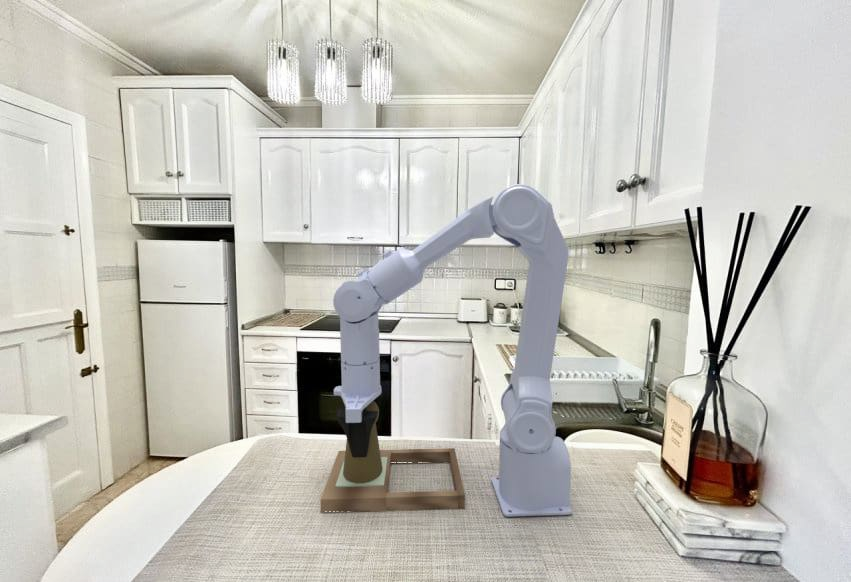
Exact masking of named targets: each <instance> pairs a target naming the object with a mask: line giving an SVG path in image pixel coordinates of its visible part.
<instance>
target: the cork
mask: <svg viewBox="0 0 851 582" xmlns="http://www.w3.org/2000/svg"><path fill="white" fill-rule="evenodd" d="M364 409H366V411H378V415H377V418H376V420H375V422H374V424H373V426H372V429H371V434H370V442H369V448H368V453H367V456H366V457H354V458H353V457H352V454H351V451H350V448H349V444H348V440H347V439H346V442H345V443H346V444H345V450H344V451H345V460H344V469H343V476H344V478H345V479H346V480H348V481H350V482H353V483H366V482H370V481H372V480H374V479H376V478H377V477H379V476H380V475H381V473H382V469H383V468H382V461H381V455H380V450H381V449H380V444H379V443H380V442H379V437H378V431H377V424H376V423H377V421H378V420H379V415H380V409H379V406H378V405H377V404H376V403H375V402H374V401H372V402H371V403H370V404H369V405H368V406H366V407H365V408H364Z"/></svg>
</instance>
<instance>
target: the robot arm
mask: <svg viewBox="0 0 851 582" xmlns="http://www.w3.org/2000/svg"><path fill="white" fill-rule="evenodd" d="M493 199H494V195H492V196H490V197H488V198H486V199H484V200H482V201H480V202H478V203H477V204H475V205H474V206H472V207H471V208H468V209H467V210H465V211H464V212H463V213H462V214H460V215H459V216H458V217H455V219H454V220H452V221H451V222H449V223H448V224H446V225H445V226H444V227H443V228H441V229H440V230H438V231H437V232H436V233H435V234H433V235H431V236H430V237H428V238H427V239H426V240H425V241H423V242H422V243H420V244H419V245H418V246H416V247H415V248H414V249H413V250H410V249H406V248H398V249H397V250H395V251H394V250H393V249H389V250H387V251H386V252H384V253H383V257H384V258H383V259H382V260H381V261H379V262H377V263H376V264H375V265H373V266H371V268H368V269H367V270H365V269H362V270H360V271H359V272H358V273H357V276H358V279H357V280H355V279H353V280H352V279H351V280H347V281H344V282H343V283H342V284H341V285H340V286H339V287H338V288H337V290H336V291H335V293H334V295H333V300H332V302H333V304H332V305H333V308H334V310H335V312H336V314H337V315H338V317H339V321H340V322H339V324H340V325H339V326H340V329H339V330H340V332H339V333H340V339H339V340H340V361H341V362H340V367H341V368H340V370H341V373H340V374H341V385H338V386H335V387H334V388H333V396H340V397H341V399H342V402H343V404H344V407H345V408H341V409H340V408H339V409H338V411H337V414H336V420H337V423H338V424H339V425H340V427H341V429H342V430H343V431H344V434H345V437H346V441H347V440H348V444H349V448H350V451H351V454H352V457H353V458H354V457H366V456H367V453H368V448H369V442H370V434H371V429H372V426H373V424H374V422H375V420H376V418H377V415H378V411H366V409H364V408H365V407H366V406H368V405H369V404H370V403H371V402H372V401H374V402H375V403H376V404H377V406H378V405H379V403H380V401H381V398H382V396H383V390H382V385H381V373H380V372H381V370H380V369H381V364H380V363H381V362H380V361H381V360H380V358H381V357H380V328H379V311H380V310H381V309H382V307H383V306H384V305H388V304H390V303H392V302H393V301H395V300H396V299H397V298H399V297H400V296H402V295H404V294H405V293H406V292H408V291H410V290H411V289H412V288H414V287H416V286H417V285H419V284H420V283H421V282H422V281H423V277H424V272H425V269H426V268H428V267H429V266H430V265H432V264H434V263H435V262H437V261H439V260H440V259H442V258H443V257H445V256H446V255H448V254H450V253H451V252H453V251H455V250H456V249H457V248H459V247H461V246H462V245H464V244H465V243H468V242H469V241H471V240H475V239H485V238H487V239H488V238H489V239H490V238H491V237H492V236H493V235H494V234H495V235H497V236H498V237H499V238H501V239H503V240H505V241H506V242H508V243H510V244H511V245H513V246H514V247H515V248H516V249H517V250H518V252H520V255H522V256H523V257H524V259H526V260H527V262H528V268H527V277H526V282H525V283H526V284H525V289H524V299H523V305H522V313H521V318H520V326H519V332H518V340H517V348H516V355H515V363H514V368H513V370H512V372H511V374H510V378H509V382H508V383H509V384H508V386H507V387H506V389H505V390H504V392H503V393H502V395H501V398H500V406H501V410H502V412H503V415H504V420H505V423H504V424H503V426H502V428H501V429H500V431H499V458H498V460H499V461H498V462H499V464H498V466H499V468H498V469H499V470H498V473H499V474H498V476H492V477H491V479H490V481H491V484H492V486H493V490H494V493H495V495H496V498H497V501H498V503H499V506H500V509H501V512H502V515H503V516H505V517H533V516H535V517H536V516H564V515H565V516H566V515H568V516H569V515H572V512H573V511H572V509H571V506H570V503H571V502H570V501H571V479H572V478H571V477H572V463H571V456H570V452H569V450H568V446H567V445H566V443H565V441H564V439H562V438H561V437H559V436H556V433H557V431H556V430H557V428H556V424H555V421H554V419H553V416H552V407H553V396H552V395H553V394H552V390H551V389H552V387H551V381H550V380H551V373H552V368H553V367H552V366H553V361H554V355H555V347H556V341H557V335H558V328H559V323H560V322H559V321H560V316H561V308H562V302H563V301H562V300H563V294H564V289H565V283H566V281H565V280H566V275H567V270H568V269H567V268H568V263H569V256H570V255H569V247H568V245H567V242H566V240H565V238H564V236H563V234H562V231H561V229H560V227H559V225H558V222H557V221H556V217H555V216H554V211H553V204H552V203H551V202H550V201H548V199H546V197H544V196H543V195H542V194H541V193H540V192H539V191H538V190H536V189H535V188H534V187H532V186H531V185H527V184H522V183H519V184H513V185H509V186H508V187H506V188H504V189H503V190H501V192H500V193H499V194H497V196H496V198H495V200H494V202H493V204H492V201H493Z"/></svg>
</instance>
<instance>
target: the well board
mask: <svg viewBox="0 0 851 582" xmlns="http://www.w3.org/2000/svg"><path fill="white" fill-rule="evenodd" d="M345 451H346V450H339V451H338V452H337V455H336V458H335V460H334V463H333V466H332V468H331V471H330V474H329V477H328V479H327V481H326V484H325V487H324V489H323V492H322V494H321V497H320V500H319V501H320V513H321V512H325V511H327V512H329V511H331V512H333V511H335V512H336V511H339V512H338V513H342V512H341V511H344V512H343V513H348V512H347V511H370V512H384V511H383V510H392V511H391V512H394V511H396V510H404V511H429V510H430V511H431V510H432V511H434V509H437V510H460V509H461V510H463V509H464V510H465V509H466V506H465V505H466V493H465V489H464V484H463V481H462V476H461V475H462V474H461V471H460V467H459V462H458V458H457V453H456V448H454V447H453V448H452V447H451V448H450V447H449V448H448V447H447V448H444V447H443V448H412V449H411V448H409V449H408V448H407V449H380V455H381V461H382V468H383V469H382V473H381V475H380V476H379V477H377V478H376V479H374V480H372V481H370V482H366V483H353V482H350V481H348V480H346V479H345V478H344V476H343V469H344V460H345ZM391 462H396V463H397V462H407V463H408V462H412V463H415V464H419V463H418V462H450V463H449V467H451V468H450V473H452V474H451V478H452V484H453V490H438V491H437V490H435V491H433V490H432V491H401V492H397V491H395V492H389V489H390V480H389V478H390V477H391V470H390V468H391V467H392V464H391ZM391 469H392V468H391ZM390 479H391V478H390ZM388 488H389V489H388ZM396 512H397V511H396Z"/></svg>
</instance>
